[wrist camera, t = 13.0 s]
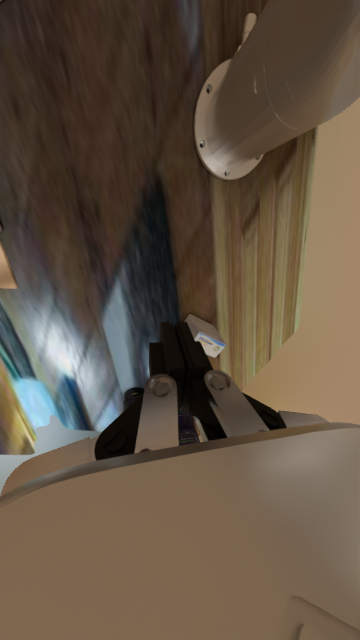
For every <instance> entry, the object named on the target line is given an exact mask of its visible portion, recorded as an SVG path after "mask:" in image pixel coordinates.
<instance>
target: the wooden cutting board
mask: <svg viewBox="0 0 360 640" xmlns="http://www.w3.org/2000/svg"><path fill="white" fill-rule="evenodd" d="M0 288H16V289H17V288H19V287H18V285H17V282H16V279H15V277H14V274H13V272H12V269H11V266H10V264H9V261H8V258H7V256H6V253H5V250H4V248H3V245H2V242H1V240H0Z"/></svg>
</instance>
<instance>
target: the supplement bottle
mask: <svg viewBox="0 0 360 640" xmlns="http://www.w3.org/2000/svg"><path fill="white" fill-rule="evenodd" d="M143 393H144V390H143V389H141V388H133V389H130V390H128V391H127V392H126V393H125V395H124V403H123V412H124V411H125V410H126V409H127V408H128V407H129V406H130V405H131V404H132V403H133V402H134V401H135V400H137V399H138V398H139V397H140V396H141V395H142V394H143Z"/></svg>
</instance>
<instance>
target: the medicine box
mask: <svg viewBox="0 0 360 640" xmlns="http://www.w3.org/2000/svg"><path fill="white" fill-rule="evenodd" d="M184 322H187V323H188V326H189V328H190V330H191V333H192V335H193V337H194V340H195V341H200V342H201V344H202V346H203V349H204V351H205V353H206V354H207V355H209V356H211V357H214V358H215V357H216V356H217V355H218V354H219V353H220V352H221V351H222V350H223V348H224V347H225V346H226V344H225V342H224V340H223V339H222V337H221V336H220V335H219V333H218V332H217V330H216V329H215V327H214V326H213V325H212V324H210V323H208V322H206V321H204V320H202V319H200V318H198V317H196V316H194V315H192V314H189V315H188V317H187V318H186V319H185V321H184Z"/></svg>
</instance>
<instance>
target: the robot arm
mask: <svg viewBox="0 0 360 640" xmlns="http://www.w3.org/2000/svg"><path fill="white" fill-rule="evenodd" d="M256 20H257V21H256ZM206 91H208V92H209V94H208V93H207V92H206ZM359 97H360V0H269V1H268V2H267V4H266V6H265V7H264V9H263V11H262V12H261V14H260V16H259V18H258V19H257V17H256V15H255V14H254V13H250V14H248V15H247V16H246V17H245V21H244V27H243V33H242V42H241V45H240V46H239V47H238V49H237V51H236V52H235V54H234V56H233V58H231V59H228V60H226V61H225V62H223V63H221V64H220V65H219V66H218V67H217V68H216V69H215V70H214V71H213V72H212V73H211V74H210V76H209V77H208V79H207V80H206V82H205V84H204V86H203V88H202V90H201V92H200V95H199V98H198V100H197V104H196V108H195V113H194V123H193V130H194V141H195V147H196V150H197V153H198V156H199V158H200V160H201V162H202V164H203V165H204V167H205V168H206V169H207V171H208V172H209V173H211V174H212V175H213V176H215V177H217V178H218V179H222V180H235V179H238V178H241V177H243V176H245V175H246V174H248V173H249V172H251V171H252V170H253V169H254V168H255V167H256V166H257V164H258V163H259V162H260V160H261V159H262V157H263V155H264V154H265V153H266V152H268V151H270V150H272V149H274V148H276V147H278V146H280V145H281V144H283V143H285V142H287V141H289V140H291V139H293V138H295V137H297V136H299V135H301V134H303V133H305V132H307V131H309V130H311V129H313V128H315V127H316V126H318V125H320V124H322V123H324V122H326V121H328V120H330V119H331V118H333V117H334V116H336V115H338V114H339V113H341V112H342V111H343V110H345V109H346V108H347V107H348V106H350V105H351V104H352V103H353V102H355V101H356V100H357V99H358V98H359ZM200 144H201V145H202V148H201V147H200ZM255 158H256V159H255ZM224 173H226V176H225V174H224ZM149 371H150V378H149V379H148V381H147V382H146V385H145V390H144V393H143V394H142V395H141V396H140V397H139V398H138V399H137V400H135V401H134V402H133V403H132V404H131V405H130V406H129V407H128V408H127V409H126V410H125V411H124V412H123V413H122V414H121V415H120V416H119V417H118V418H116V419H115V420H114V421H113V422H112V423H111V424H110V425H109V426H108V427H107V428H106V429H105V430H104V431H103V432H102V433H101V434H100V436H98V437H95V438H92V439H90V438H89V437H88V438H85V439H82V440H80V441H77V442H74V443H72V444H69V445H66V446H63V447H60V448H58V449H55V450H52V451H50V452H47V453H44V454H41V455H38V456H36V457H33V458H31V459H29V460H27V461H25V462H23V463H22V464H21V465H20V466H18V468H16V469H15V470H14V471H13V472H12V474H11V475H10V476H9V477H8V479H7V480H6V483H5V485H4V487H3V489H2V492H1V496H0V640H360V425H357V424H351V423H340V422H339V423H338V422H336V423H335V422H331V423H330V422H328V421H327V420H326V419H324V418H322V417H321V416H318V415H313V414H305V413H296V412H288V411H278V413H277V412H276V411H275V410H273V409H271V408H270V407H268V406H266V405H264V404H262V403H261V402H259V401H257V400H255V399H253V398H252V397H250V396H248V395H246V394H244V393H242V392H241V391H240V389H239V388H238V387H237V385H236V384H235V383H234V381H233V380H232V379H231V377H230V376H229V375H228V374H226V373H225V372H222V371H219V370H213V368H212V366H211V363H210V361H209V359H208V357H207V355H206V353H205V351H204V349H203V346H202V344H201V342H200V341H195V340H194V337H193V335H192V333H191V330H190V328H189V326H188V323H187V322H178V324H175V326H174V327H173V324H170V322H161V324H160V342H158V343H149ZM180 403H181V406H182V407H185V411H186V412H190V414H192V415H193V416H195V421H196V424H197V426H198V429H199V431H200V434H201V436H202V438H203V441H204V442H199V443H193V444H188V445H182V446H179V441H178V415H179V409H180Z"/></svg>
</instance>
